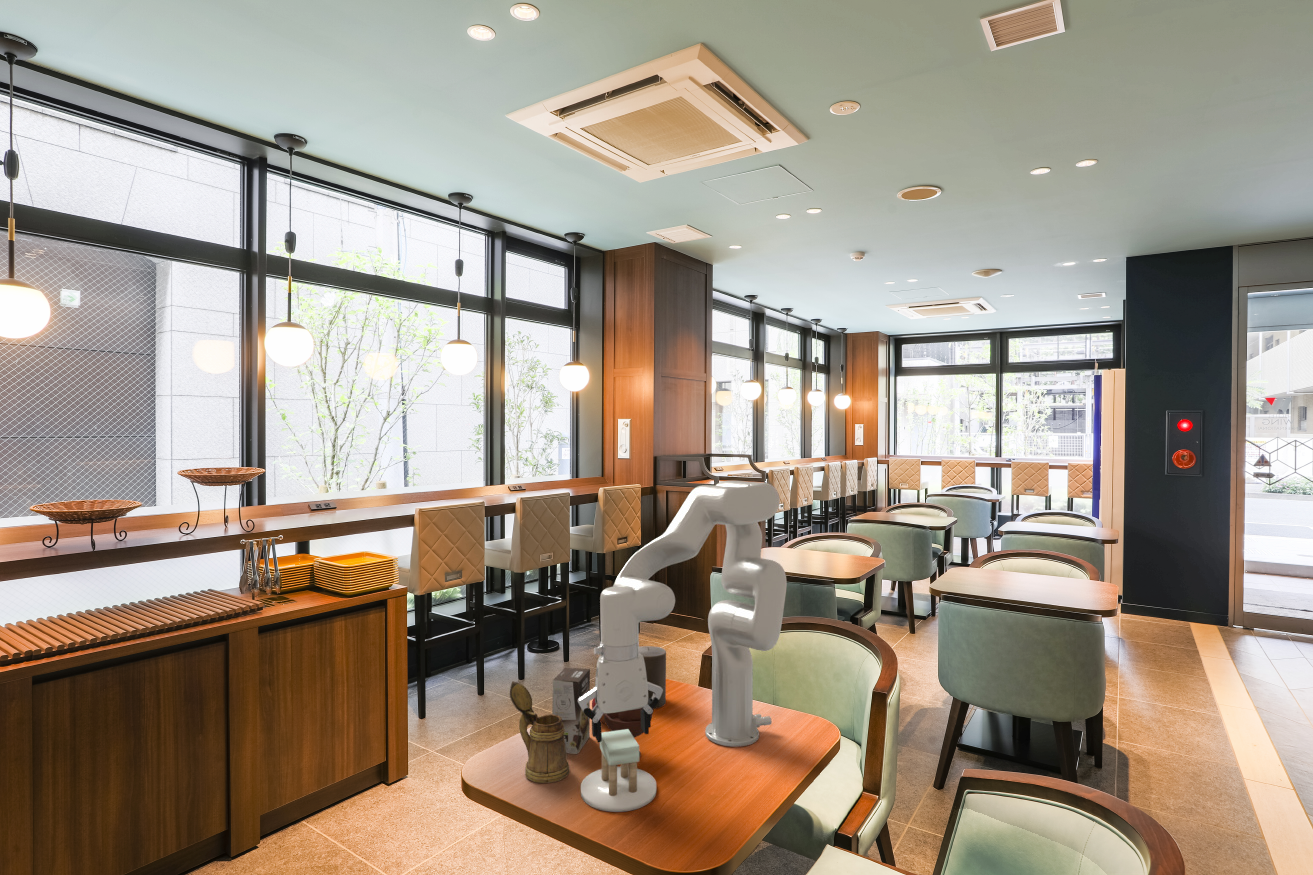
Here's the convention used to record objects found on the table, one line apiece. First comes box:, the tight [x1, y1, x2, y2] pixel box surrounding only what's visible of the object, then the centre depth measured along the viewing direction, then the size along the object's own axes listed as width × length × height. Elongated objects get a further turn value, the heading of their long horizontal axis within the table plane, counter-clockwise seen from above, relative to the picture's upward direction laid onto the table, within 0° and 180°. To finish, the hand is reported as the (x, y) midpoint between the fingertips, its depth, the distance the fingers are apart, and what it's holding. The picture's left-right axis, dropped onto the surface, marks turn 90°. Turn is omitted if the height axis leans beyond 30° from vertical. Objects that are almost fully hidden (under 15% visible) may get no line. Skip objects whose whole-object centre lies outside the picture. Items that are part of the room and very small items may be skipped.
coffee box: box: [551, 667, 591, 755], centre depth 154 cm, size 9×6×16 cm
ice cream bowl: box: [604, 708, 654, 759], centre depth 149 cm, size 11×11×15 cm
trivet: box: [580, 766, 657, 813], centre depth 133 cm, size 15×15×1 cm
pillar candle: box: [639, 645, 667, 710], centre depth 178 cm, size 10×10×15 cm
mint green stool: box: [599, 729, 640, 796], centre depth 134 cm, size 8×6×9 cm
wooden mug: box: [509, 680, 570, 784], centre depth 141 cm, size 9×14×18 cm, turn 68°
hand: (621, 735), depth 134 cm, fingers open, 9 cm apart
